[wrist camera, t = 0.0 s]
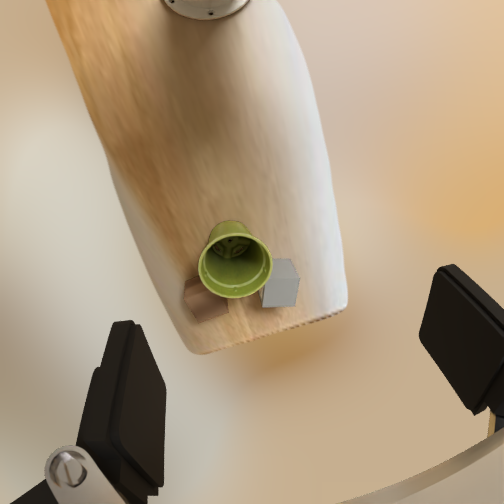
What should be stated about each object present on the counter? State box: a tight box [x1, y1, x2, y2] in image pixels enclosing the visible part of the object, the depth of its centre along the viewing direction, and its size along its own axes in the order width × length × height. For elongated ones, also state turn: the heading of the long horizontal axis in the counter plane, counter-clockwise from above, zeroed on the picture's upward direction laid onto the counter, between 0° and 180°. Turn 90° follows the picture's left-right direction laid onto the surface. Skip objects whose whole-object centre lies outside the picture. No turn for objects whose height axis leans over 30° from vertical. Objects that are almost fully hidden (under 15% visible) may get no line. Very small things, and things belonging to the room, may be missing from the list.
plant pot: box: [198, 221, 273, 298], centre depth 44 cm, size 9×9×9 cm
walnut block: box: [184, 276, 229, 323], centre depth 50 cm, size 5×5×5 cm
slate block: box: [258, 259, 300, 307], centre depth 49 cm, size 5×5×6 cm
